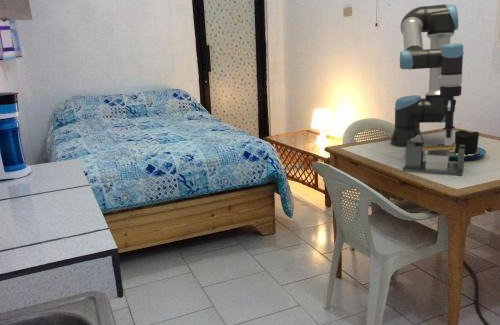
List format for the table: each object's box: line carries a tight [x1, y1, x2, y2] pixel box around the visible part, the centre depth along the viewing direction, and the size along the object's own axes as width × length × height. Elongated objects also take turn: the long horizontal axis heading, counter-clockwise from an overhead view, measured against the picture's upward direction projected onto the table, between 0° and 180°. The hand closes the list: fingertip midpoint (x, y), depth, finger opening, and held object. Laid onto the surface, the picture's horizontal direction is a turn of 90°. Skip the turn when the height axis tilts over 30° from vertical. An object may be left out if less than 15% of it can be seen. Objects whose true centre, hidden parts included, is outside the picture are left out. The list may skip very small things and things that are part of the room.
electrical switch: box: [406, 135, 426, 156], centre depth 196 cm, size 9×5×9 cm, turn 141°
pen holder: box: [454, 129, 480, 155], centre depth 193 cm, size 9×9×10 cm
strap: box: [422, 143, 456, 152], centre depth 177 cm, size 15×4×1 cm, turn 62°
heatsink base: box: [402, 141, 465, 177], centre depth 178 cm, size 22×13×10 cm, turn 63°
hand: (448, 144), depth 174 cm, fingers closed
